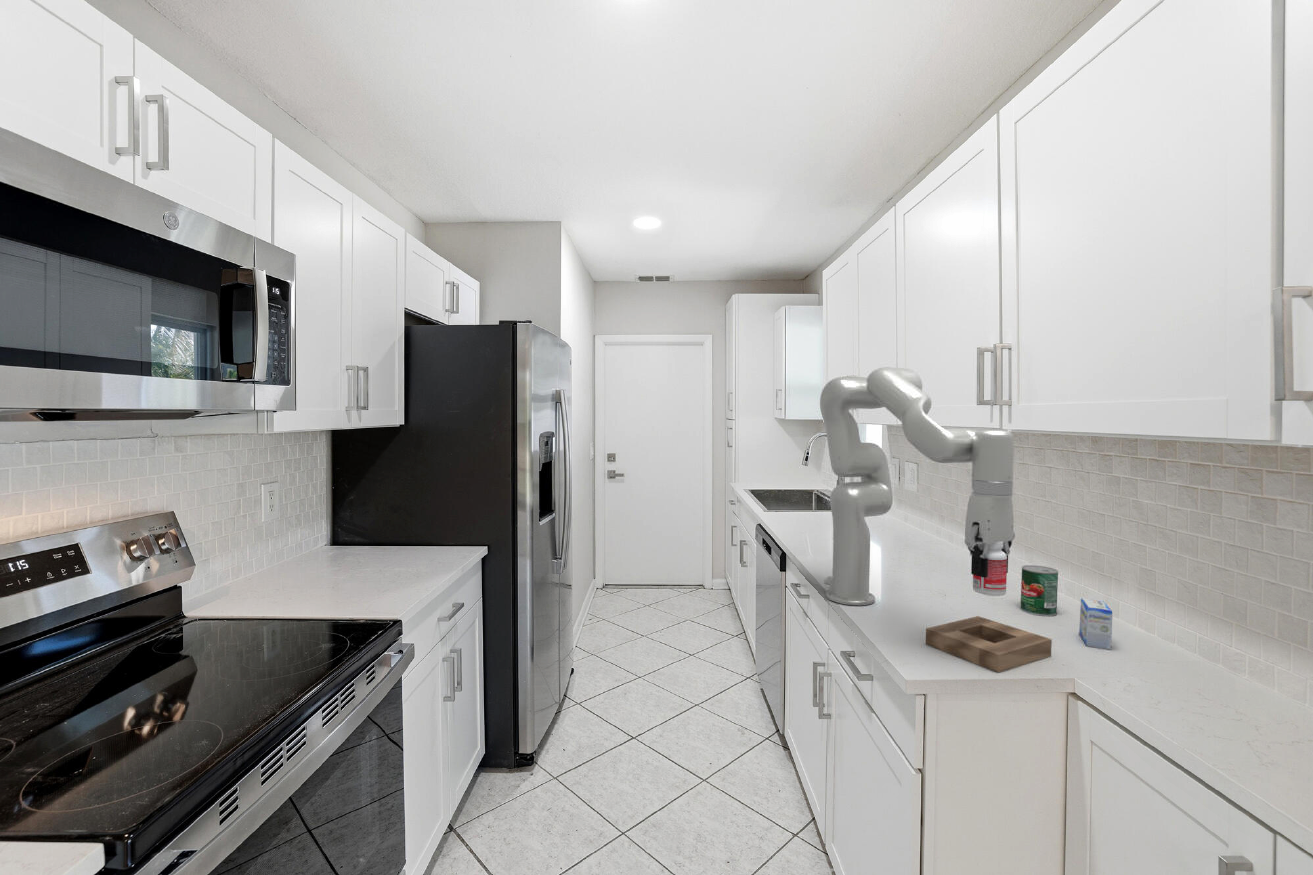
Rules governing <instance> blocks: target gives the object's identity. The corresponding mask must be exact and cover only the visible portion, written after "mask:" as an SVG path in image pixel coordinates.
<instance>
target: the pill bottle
mask: <svg viewBox="0 0 1313 875" xmlns="http://www.w3.org/2000/svg"><path fill="white" fill-rule="evenodd" d="M982 541H983V540H980V539H979V542H982ZM978 546H979V548H980V549H982V546H980V545H978ZM1002 549H1003V542H998V543H995V544H991V545H989V546H988V550H987V554H986V557H985V558H988V573H987V577H985V578H984V577H980V576H976V575H972V589H973V591H974V592H975V593H978V594H981V595H985V596H990V597H993V596H994V597H1000V596H1001V597H1002V596H1004V595H1006V594H1007V580H1008V579H1007V574H1008V573H1007V554H1005V553H1004V552H1003V551H1002Z"/></svg>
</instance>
